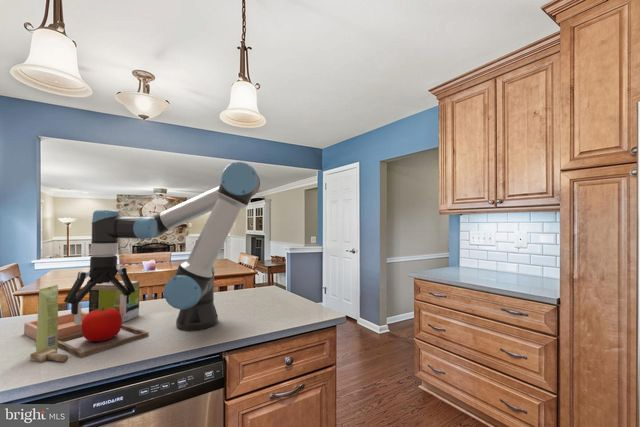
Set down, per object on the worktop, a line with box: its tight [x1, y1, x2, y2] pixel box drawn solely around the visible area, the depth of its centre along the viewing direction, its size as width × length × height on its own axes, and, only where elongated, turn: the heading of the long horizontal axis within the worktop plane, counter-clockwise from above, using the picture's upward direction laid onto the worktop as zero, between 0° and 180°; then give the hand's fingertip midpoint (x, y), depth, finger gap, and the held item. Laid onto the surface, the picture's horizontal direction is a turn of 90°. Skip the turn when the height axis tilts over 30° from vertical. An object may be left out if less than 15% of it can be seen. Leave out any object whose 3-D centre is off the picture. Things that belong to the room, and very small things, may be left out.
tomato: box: [81, 307, 123, 342], centre depth 103 cm, size 11×12×10 cm
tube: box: [35, 284, 59, 352], centre depth 94 cm, size 6×5×20 cm
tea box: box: [88, 280, 140, 323], centre depth 126 cm, size 15×10×15 cm, turn 84°
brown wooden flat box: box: [23, 310, 89, 341], centre depth 110 cm, size 18×17×4 cm
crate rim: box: [57, 323, 149, 358], centre depth 103 cm, size 20×20×1 cm
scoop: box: [29, 348, 69, 363], centre depth 88 cm, size 10×4×2 cm, turn 75°
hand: (101, 318), depth 103 cm, fingers open, 13 cm apart
